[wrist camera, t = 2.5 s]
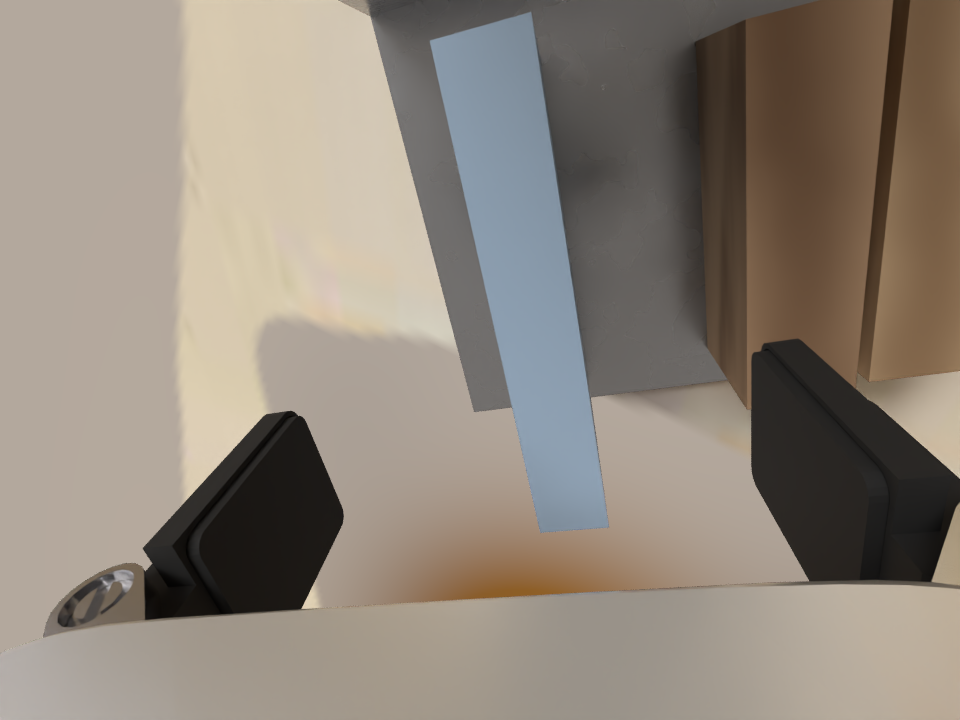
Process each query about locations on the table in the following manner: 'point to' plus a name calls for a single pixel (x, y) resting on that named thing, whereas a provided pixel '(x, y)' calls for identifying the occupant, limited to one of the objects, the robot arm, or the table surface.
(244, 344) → the table surface
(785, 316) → the offcut tall
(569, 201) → the rack
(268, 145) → the table surface
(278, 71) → the table surface
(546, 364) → the sheet
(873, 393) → the table surface
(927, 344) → the offcut short
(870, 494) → the robot arm
